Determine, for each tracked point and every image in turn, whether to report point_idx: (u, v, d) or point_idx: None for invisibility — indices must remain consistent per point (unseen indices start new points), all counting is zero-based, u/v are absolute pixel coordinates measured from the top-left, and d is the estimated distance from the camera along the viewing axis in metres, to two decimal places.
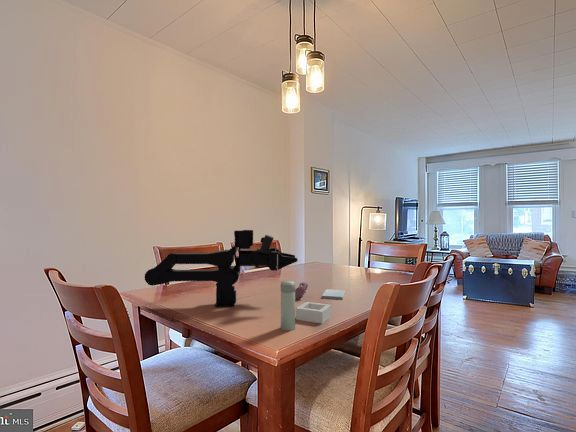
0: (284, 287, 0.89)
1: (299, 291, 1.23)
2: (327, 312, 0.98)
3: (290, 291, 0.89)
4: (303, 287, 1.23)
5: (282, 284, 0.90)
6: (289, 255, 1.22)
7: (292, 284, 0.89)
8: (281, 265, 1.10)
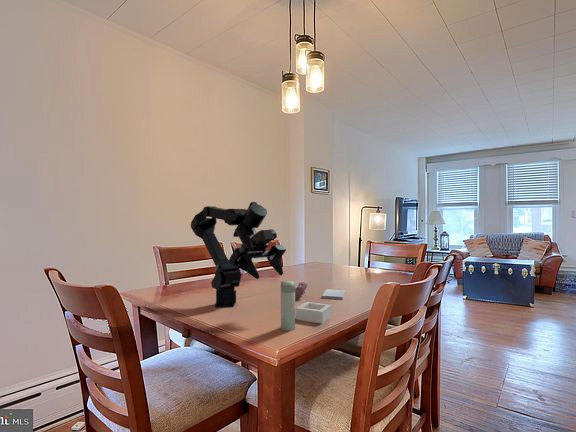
0: (284, 287, 0.89)
1: (298, 291, 1.23)
2: (327, 312, 0.98)
3: (290, 291, 0.89)
4: (302, 287, 1.23)
5: (282, 284, 0.90)
6: (279, 268, 1.01)
7: (292, 284, 0.89)
8: (242, 267, 0.96)
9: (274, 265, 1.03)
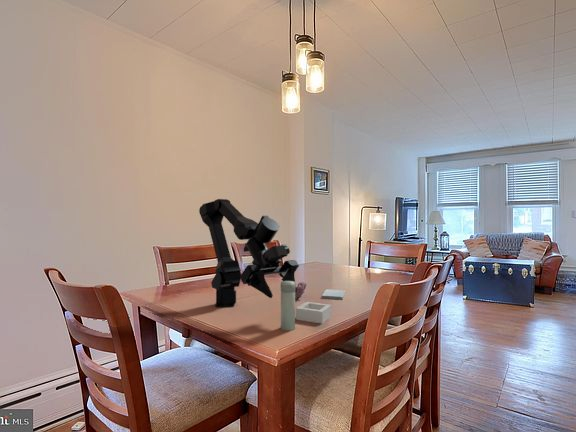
0: (284, 287, 0.89)
1: (297, 291, 1.23)
2: (327, 312, 0.98)
3: (290, 291, 0.89)
4: (301, 287, 1.24)
5: (282, 284, 0.90)
6: None
7: (292, 284, 0.89)
8: (254, 285, 0.92)
9: None
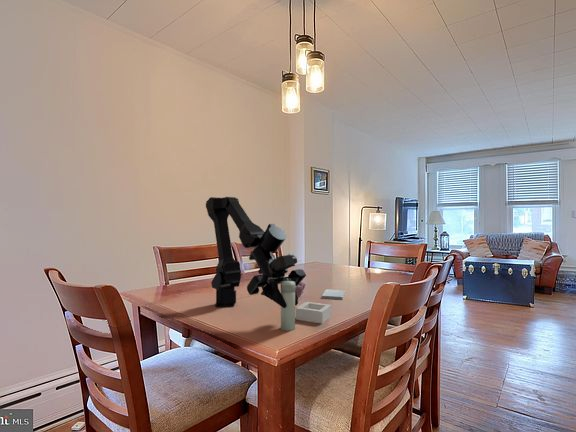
0: (284, 287, 0.89)
1: (296, 291, 1.23)
2: (327, 312, 0.98)
3: (290, 291, 0.89)
4: (300, 287, 1.24)
5: (282, 284, 0.90)
6: None
7: (292, 284, 0.89)
8: (268, 294, 0.91)
9: None
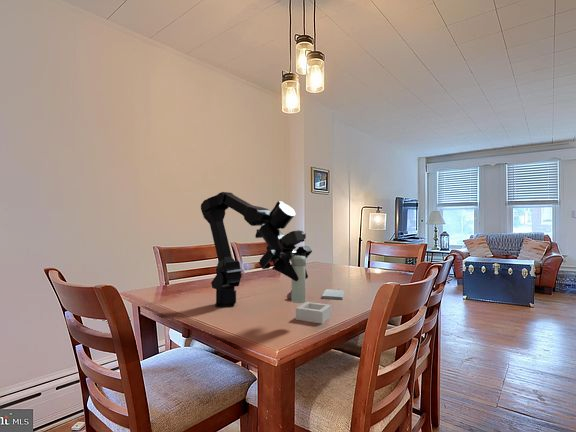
0: (296, 261, 0.92)
1: None
2: (327, 312, 0.98)
3: (302, 265, 0.92)
4: None
5: (294, 258, 0.92)
6: None
7: (303, 258, 0.92)
8: (279, 269, 0.93)
9: None
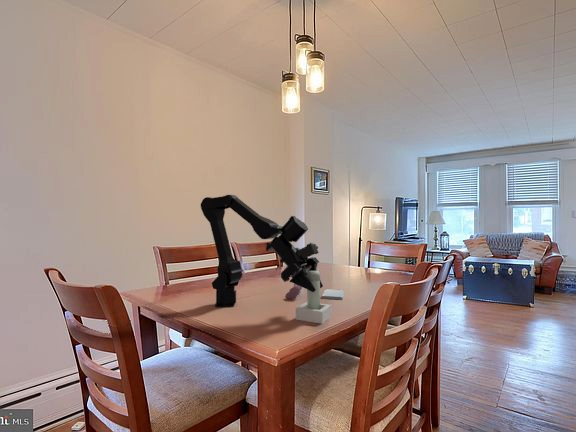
0: (313, 276, 0.99)
1: (294, 291, 1.23)
2: (327, 312, 0.98)
3: (318, 279, 0.99)
4: (298, 287, 1.24)
5: (310, 274, 0.99)
6: None
7: (319, 273, 1.00)
8: (296, 281, 0.98)
9: None
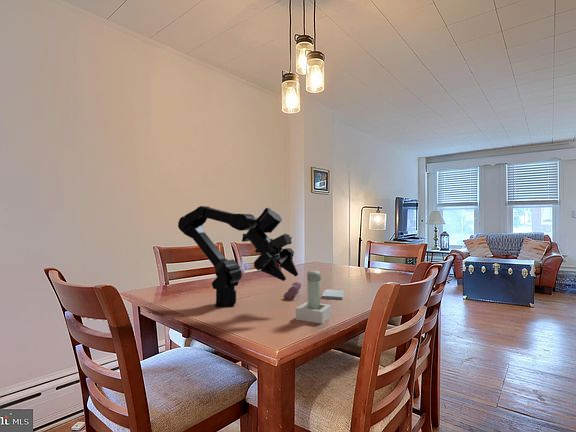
0: (314, 276, 0.99)
1: (292, 291, 1.23)
2: (327, 312, 0.98)
3: (318, 279, 0.99)
4: (296, 287, 1.24)
5: (311, 274, 0.99)
6: (293, 269, 1.09)
7: (319, 273, 1.00)
8: (267, 270, 1.01)
9: (286, 267, 1.10)
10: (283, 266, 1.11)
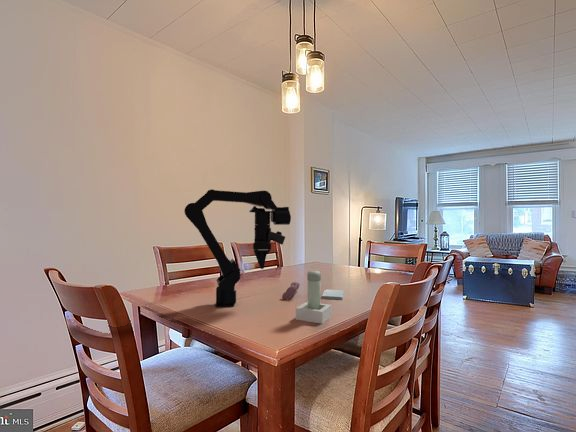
0: (314, 276, 0.99)
1: (291, 290, 1.23)
2: (327, 312, 0.98)
3: (318, 279, 0.99)
4: (294, 287, 1.24)
5: (311, 274, 0.99)
6: None
7: (319, 273, 1.00)
8: (257, 253, 1.13)
9: None
10: None
